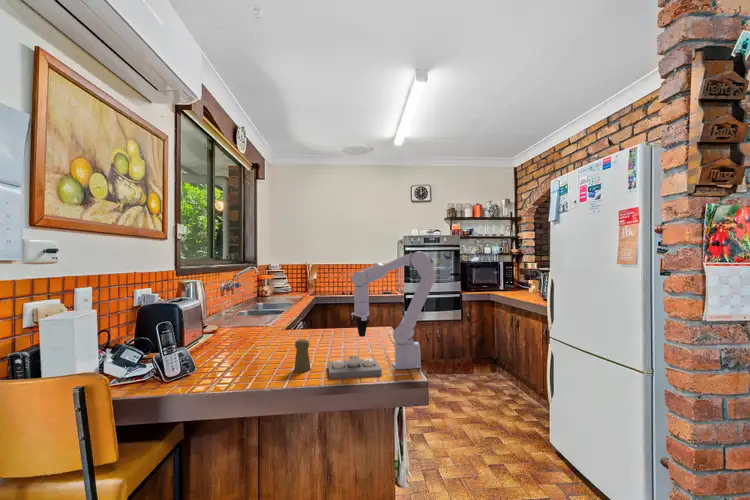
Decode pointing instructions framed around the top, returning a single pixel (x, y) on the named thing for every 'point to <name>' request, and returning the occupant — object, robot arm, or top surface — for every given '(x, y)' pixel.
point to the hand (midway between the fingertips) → (361, 336)
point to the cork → (302, 356)
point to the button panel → (354, 370)
